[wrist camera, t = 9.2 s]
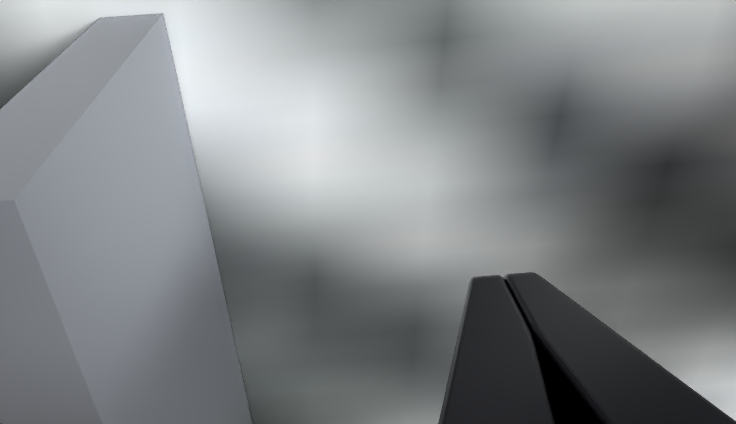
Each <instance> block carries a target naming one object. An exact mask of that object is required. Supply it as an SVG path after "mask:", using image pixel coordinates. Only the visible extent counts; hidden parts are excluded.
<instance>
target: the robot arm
mask: <svg viewBox="0 0 736 424" xmlns="http://www.w3.org/2000/svg"><path fill="white" fill-rule="evenodd" d="M438 424H736V421H735V420H733V419H732V418H731V417H729V416H728V415H726V414H725V413H724V412H722V411H721V410H720V409H718V408H717V407H716V406H714V405H713V404H712V403H710V402H709V401H708V400H706V399H705V398H704V397H702V396H701V395H700V394H698V393H697V392H696V391H694V390H693V389H691V388H690V387H689V386H687V385H686V384H685V383H683V382H682V381H681V380H679V379H678V378H677V377H675V376H674V375H673V374H671V373H670V372H669V371H667V370H666V369H665V368H663V367H662V366H661V365H659V364H658V363H656V362H655V361H654V360H652V359H651V358H650V357H648V356H647V355H646V354H644V353H643V352H642V351H640V350H639V349H638V348H636V347H635V346H634V345H632V344H631V343H630V342H628V341H627V340H626V339H624V338H623V337H621V336H620V335H619V334H617V333H616V332H615V331H613V330H612V329H611V328H609V327H608V326H607V325H605V324H604V323H603V322H601V321H600V320H599V319H597V318H596V317H595V316H593V315H592V314H591V313H589V312H588V311H586V310H585V309H584V308H582V307H581V306H580V305H578V304H577V303H576V302H574V301H573V300H572V299H570V298H569V297H568V296H566V295H565V294H564V293H562V292H561V291H560V290H558V289H557V288H556V287H554V286H553V285H551V284H550V283H549V282H547V281H546V280H545V279H543V278H542V277H541V276H539V275H538V274H536V273H532V272H529V273H517V274H507V275H506V276H504V278H503V277H501V276H499V275H492V276H479V277H473V278H472V279H471V280H470V283H469V287H468V292H467V296H466V301H465V305H464V310H463V314H462V319H461V323H460V328H459V333H458V337H457V342H456V346H455V351H454V355H453V360H452V364H451V369H450V373H449V378H448V383H447V387H446V392H445V396H444V401H443V405H442V410H441V414H440V419H439V423H438Z"/></svg>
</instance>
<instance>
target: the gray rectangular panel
mask: <svg viewBox="0 0 736 424" xmlns="http://www.w3.org/2000/svg"><path fill="white" fill-rule="evenodd" d="M0 422H1V424H253V423H252V419H251V414H250V410H249V405H248V400H247V396H246V391H245V387H244V382H243V377H242V373H241V368H240V364H239V359H238V354H237V350H236V345H235V341H234V336H233V332H232V327H231V322H230V318H229V313H228V309H227V304H226V299H225V295H224V290H223V286H222V281H221V276H220V272H219V267H218V263H217V258H216V253H215V249H214V244H213V240H212V235H211V231H210V226H209V221H208V217H207V212H206V208H205V203H204V198H203V194H202V189H201V185H200V180H199V175H198V171H197V166H196V162H195V157H194V152H193V148H192V143H191V139H190V134H189V130H188V125H187V120H186V116H185V111H184V107H183V102H182V97H181V93H180V88H179V84H178V79H177V74H176V70H175V65H174V61H173V56H172V51H171V47H170V42H169V38H168V33H167V28H166V24H165V19H164V15H163V13H162V14H148V15H134V16H120V17H106V18H99V19H98V20H97V21H96V22H95V23H94V24H93V25H92V26H90V27H89V28H88V29H87V30H86V31H85V32H84V33H83V34H82V35H81V36H80V37H78V38H77V39H76V40H75V41H74V42H73V43H72V44H71V45H70V46H69V47H68V48H66V49H65V50H64V51H63V52H62V53H61V54H60V55H59V56H58V57H57V58H56V59H54V60H53V61H52V62H51V63H50V64H49V65H48V66H47V67H46V68H45V69H44V70H43V71H41V72H40V73H39V74H38V75H37V76H36V77H35V78H34V79H33V80H32V81H31V82H29V83H28V84H27V85H26V86H25V87H24V88H23V89H22V90H21V91H20V92H19V93H17V94H16V95H15V96H14V97H13V98H12V99H11V100H10V101H9V102H8V103H7V104H5V105H4V106H3V107H2V108H1V109H0Z"/></svg>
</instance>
